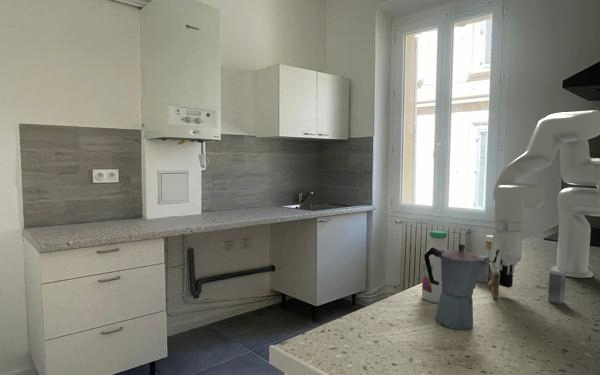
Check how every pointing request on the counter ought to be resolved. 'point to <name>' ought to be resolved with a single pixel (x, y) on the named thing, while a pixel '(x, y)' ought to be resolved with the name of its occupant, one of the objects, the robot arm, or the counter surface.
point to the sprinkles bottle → (488, 245)
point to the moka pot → (456, 285)
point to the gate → (493, 279)
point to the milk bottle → (434, 268)
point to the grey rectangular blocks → (555, 283)
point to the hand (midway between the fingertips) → (505, 286)
